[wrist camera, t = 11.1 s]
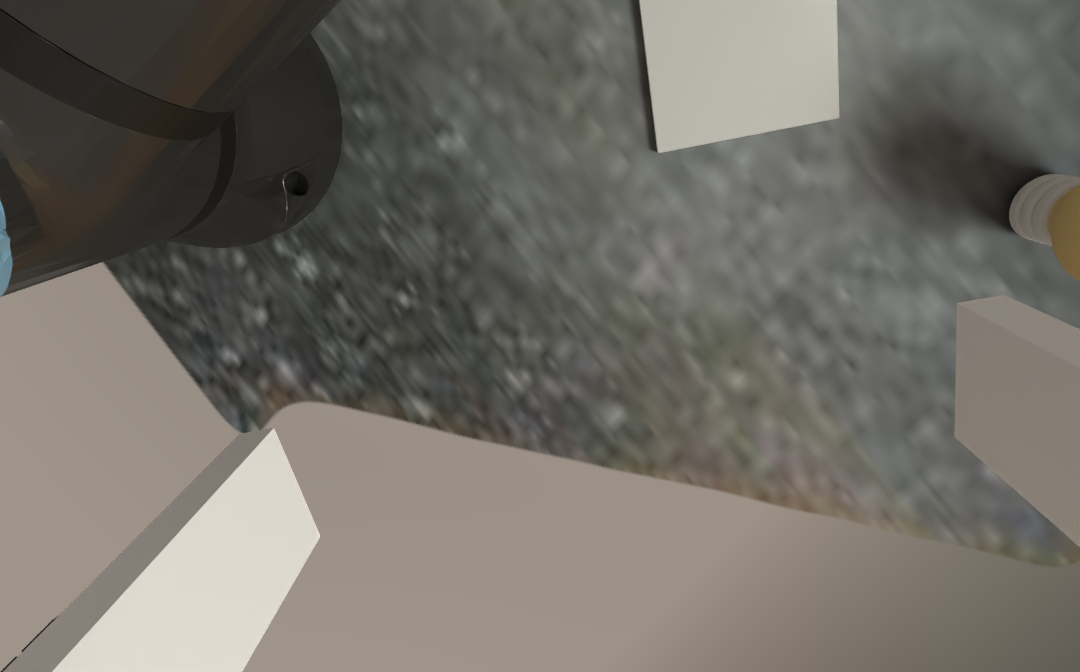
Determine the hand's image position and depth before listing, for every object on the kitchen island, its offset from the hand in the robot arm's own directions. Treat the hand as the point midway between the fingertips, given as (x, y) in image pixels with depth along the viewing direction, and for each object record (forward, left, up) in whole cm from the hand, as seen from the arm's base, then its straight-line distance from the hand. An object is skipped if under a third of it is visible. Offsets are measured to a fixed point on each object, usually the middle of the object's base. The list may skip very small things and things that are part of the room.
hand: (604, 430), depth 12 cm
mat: (+10, +7, -27) cm, 29 cm away
